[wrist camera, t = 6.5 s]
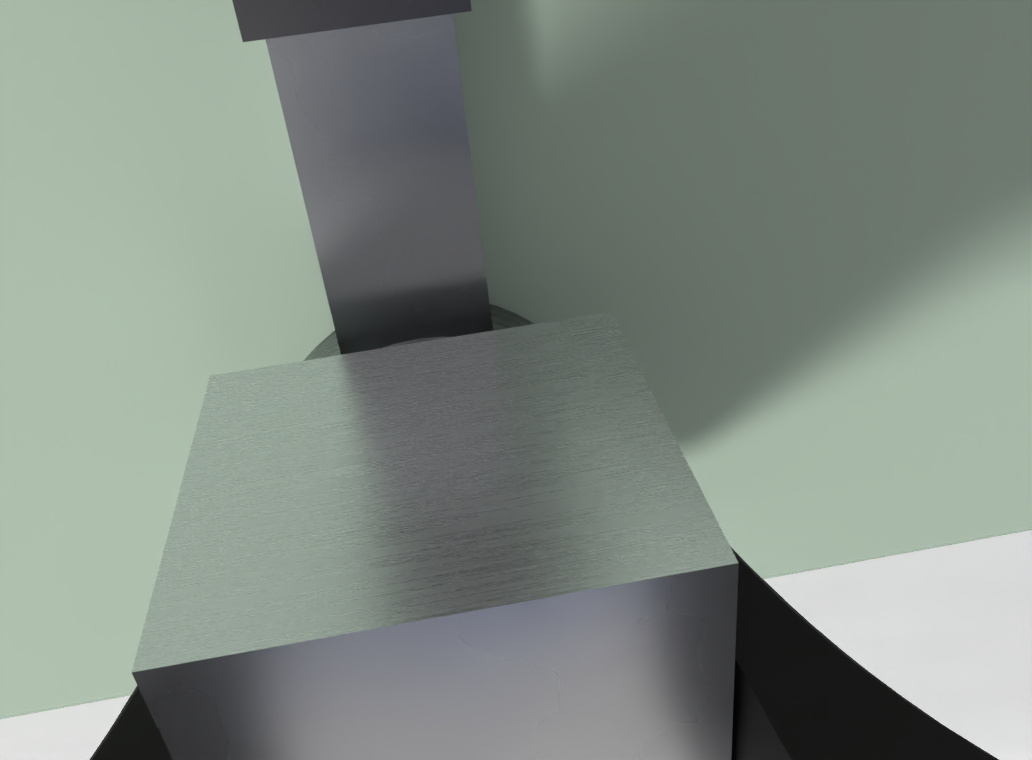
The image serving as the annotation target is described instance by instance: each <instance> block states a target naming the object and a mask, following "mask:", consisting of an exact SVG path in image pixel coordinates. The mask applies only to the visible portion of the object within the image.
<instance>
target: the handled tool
mask: <svg viewBox="0 0 1032 760" xmlns="http://www.w3.org/2000/svg"><path fill="white" fill-rule="evenodd" d="M232 2H233V5H234V9H235V13H236V17H237V21H238V25H239V29H240V33H241V37H242V41H243V42H249V41H256V40H264V39H265V40H266V44H267V48H268V53H269V57H270V61H271V65H272V69H273V73H274V78H275V82H276V86H277V90H278V94H279V98H280V103H281V107H282V111H283V115H284V119H285V123H286V128H287V132H288V136H289V140H290V144H291V148H292V153H293V157H294V161H295V165H296V169H297V174H298V178H299V182H300V186H301V190H302V194H303V199H304V203H305V207H306V211H307V215H308V219H309V224H310V228H311V232H312V236H313V240H314V244H315V249H316V253H317V257H318V261H319V265H320V269H321V274H322V278H323V282H324V286H325V290H326V294H327V299H328V303H329V307H330V311H331V315H332V319H333V324H334V328H335V331H334V332H333V333H331V334H330V335H329V336H328V337H327V338H325V339H324V340H323V341H322V342H321V343H320V344H318V345H317V346H316V347H315V348H314V350H313V351H312V352H311V353H310V354H309V355H308V356H307V357H306V358H305V360H312V359H318V358H324V357H330V356H337V355H343V354H349V353H355V352H362V351H368V350H374V349H381V348H387V347H393V346H399V345H406V344H412V343H418V342H425V341H431V340H437V339H443V338H450V337H456V336H462V335H468V334H475V333H481V332H487V331H494V330H500V329H506V328H512V327H519V326H525V325H531V324H534V323H532V322H531V321H529V320H527V319H525V318H523V317H522V316H520V315H518V314H516V313H514V312H511V311H509V310H506V309H504V308H501V307H499V306H495V305H491V304H490V303H489V295H488V287H487V280H486V272H485V264H484V256H483V249H482V241H481V233H480V225H479V218H478V210H477V202H476V194H475V187H474V179H473V171H472V163H471V156H470V148H469V140H468V132H467V125H466V117H465V109H464V101H463V94H462V86H461V78H460V70H459V63H458V55H457V47H456V39H455V32H454V24H453V16H452V14H455V13H462V12H469V11H472V9H471V1H470V0H232ZM305 360H304V361H305Z"/></svg>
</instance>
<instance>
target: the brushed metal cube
mask: <svg viewBox="0 0 1032 760" xmlns="http://www.w3.org/2000/svg"><path fill="white" fill-rule="evenodd" d="M738 566H739V563H738V561H737V559H736V557H735V555H734V553H733V551H732V549H731V547H730V545H729V543H728V541H727V539H726V537H725V535H724V533H723V531H722V529H721V527H720V525H719V524H718V522H717V520H716V518H715V516H714V514H713V512H712V510H711V508H710V506H709V504H708V502H707V500H706V498H705V496H704V494H703V492H702V490H701V488H700V486H699V484H698V482H697V480H696V478H695V476H694V474H693V472H692V470H691V468H690V467H689V465H688V463H687V461H686V459H685V457H684V455H683V453H682V451H681V449H680V447H679V445H678V443H677V441H676V439H675V437H674V435H673V433H672V431H671V429H670V427H669V425H668V423H667V421H666V419H665V417H664V415H663V413H662V411H661V410H660V408H659V406H658V404H657V402H656V400H655V398H654V396H653V394H652V392H651V390H650V388H649V386H648V384H647V382H646V380H645V378H644V376H643V374H642V372H641V370H640V368H639V366H638V364H637V362H636V360H635V358H634V356H633V354H632V353H631V351H630V349H629V347H628V345H627V343H626V341H625V339H624V337H623V335H622V333H621V331H620V329H619V327H618V325H617V323H616V321H615V319H614V317H613V315H612V313H611V312H607V313H600V314H594V315H588V316H581V317H575V318H569V319H563V320H556V321H550V322H544V323H538V324H531V325H525V326H519V327H512V328H506V329H500V330H494V331H487V332H481V333H475V334H468V335H462V336H456V337H450V338H443V339H437V340H431V341H425V342H418V343H412V344H406V345H399V346H393V347H387V348H381V349H374V350H368V351H362V352H355V353H349V354H343V355H337V356H330V357H324V358H318V359H312V360H305V361H299V362H293V363H286V364H280V365H274V366H268V367H261V368H255V369H249V370H243V371H236V372H230V373H224V374H217V375H211V376H210V377H209V381H208V385H207V388H206V392H205V396H204V400H203V404H202V407H201V411H200V415H199V419H198V423H197V426H196V430H195V434H194V438H193V441H192V445H191V449H190V453H189V457H188V460H187V464H186V468H185V472H184V476H183V479H182V483H181V487H180V491H179V494H178V498H177V502H176V506H175V510H174V513H173V517H172V521H171V525H170V529H169V532H168V536H167V540H166V544H165V548H164V551H163V555H162V559H161V563H160V566H159V570H158V574H157V578H156V582H155V585H154V589H153V593H152V597H151V601H150V604H149V608H148V612H147V616H146V619H145V623H144V627H143V631H142V635H141V638H140V642H139V646H138V650H137V654H136V657H135V661H134V665H133V669H132V675H133V677H134V679H135V681H136V683H137V685H138V687H139V689H140V692H141V694H142V696H143V698H144V700H145V702H146V704H147V706H148V708H149V711H150V713H151V715H152V717H153V719H154V721H155V723H156V725H157V727H158V730H159V732H160V734H161V736H162V738H163V740H164V742H165V744H166V746H167V749H168V751H169V753H170V755H171V757H172V759H173V760H731V755H732V728H733V701H734V674H735V647H736V620H737V593H738Z"/></svg>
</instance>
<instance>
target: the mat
mask: <svg viewBox="0 0 1032 760" xmlns="http://www.w3.org/2000/svg"><path fill="white" fill-rule="evenodd" d="M470 1H471V9H472V11H469V12H462V13H455V14H452V16H453V24H454V32H455V39H456V47H457V55H458V63H459V70H460V78H461V86H462V94H463V101H464V109H465V117H466V125H467V132H468V140H469V148H470V156H471V163H472V171H473V179H474V187H475V194H476V202H477V210H478V218H479V225H480V233H481V241H482V249H483V256H484V264H485V272H486V280H487V287H488V295H489V303H490V304H491V305H495V306H499V307H501V308H504V309H506V310H509V311H511V312H514V313H516V314H518V315H520V316H522V317H523V318H525V319H527V320H529V321H531V322H532V323H534V324H538V323H544V322H550V321H556V320H563V319H569V318H575V317H581V316H588V315H594V314H600V313H607V312H611V313H612V315H613V317H614V319H615V321H616V323H617V325H618V327H619V329H620V331H621V333H622V335H623V337H624V339H625V341H626V343H627V345H628V347H629V349H630V351H631V353H632V354H633V356H634V358H635V360H636V362H637V364H638V366H639V368H640V370H641V372H642V374H643V376H644V378H645V380H646V382H647V384H648V386H649V388H650V390H651V392H652V394H653V396H654V398H655V400H656V402H657V404H658V406H659V408H660V410H661V411H662V413H663V415H664V417H665V419H666V421H667V423H668V425H669V427H670V429H671V431H672V433H673V435H674V437H675V439H676V441H677V443H678V445H679V447H680V449H681V451H682V453H683V455H684V457H685V459H686V461H687V463H688V465H689V467H690V468H691V470H692V472H693V474H694V476H695V478H696V480H697V482H698V484H699V486H700V488H701V490H702V492H703V494H704V496H705V498H706V500H707V502H708V504H709V506H710V508H711V510H712V512H713V514H714V516H715V518H716V520H717V522H718V524H719V525H720V527H721V529H722V531H723V533H724V535H725V537H726V539H727V541H728V543H729V545H730V546H731V547H732V548H733V549H734V551H735V552H736V553H737V554H738V555H739V556H740V557H741V558H742V559H743V560H744V561H745V562H746V563H747V564H748V565H749V566H750V567H751V568H752V569H753V570H754V571H755V572H756V573H757V574H758V575H759V576H760V577H761V578H762V579H767V578H772V577H778V576H783V575H788V574H794V573H799V572H805V571H810V570H816V569H821V568H827V567H832V566H837V565H843V564H848V563H854V562H859V561H865V560H870V559H876V558H881V557H886V556H892V555H897V554H903V553H908V552H914V551H919V550H925V549H930V548H935V547H941V546H946V545H952V544H957V543H963V542H968V541H974V540H979V539H985V538H990V537H995V536H1001V535H1006V534H1012V533H1017V532H1023V531H1028V530H1032V0H470ZM334 331H335V328H334V324H333V319H332V315H331V311H330V307H329V303H328V299H327V294H326V290H325V286H324V282H323V278H322V274H321V269H320V265H319V261H318V257H317V253H316V249H315V244H314V240H313V236H312V232H311V228H310V224H309V219H308V215H307V211H306V207H305V203H304V199H303V194H302V190H301V186H300V182H299V178H298V174H297V169H296V165H295V161H294V157H293V153H292V148H291V144H290V140H289V136H288V132H287V128H286V123H285V119H284V115H283V111H282V107H281V103H280V98H279V94H278V90H277V86H276V82H275V78H274V73H273V69H272V65H271V61H270V57H269V53H268V48H267V44H266V40H265V39H264V40H256V41H249V42H243V41H242V37H241V33H240V29H239V25H238V21H237V17H236V13H235V9H234V5H233V2H232V0H0V719H4V718H9V717H15V716H20V715H26V714H31V713H37V712H42V711H47V710H53V709H58V708H64V707H69V706H75V705H80V704H86V703H91V702H97V701H102V700H107V699H113V698H118V697H124V696H129V695H132V693H133V691H134V690H135V688H136V686H137V683H136V681H135V679H134V677H133V675H132V669H133V665H134V661H135V657H136V654H137V650H138V646H139V642H140V638H141V635H142V631H143V627H144V623H145V619H146V616H147V612H148V608H149V604H150V601H151V597H152V593H153V589H154V585H155V582H156V578H157V574H158V570H159V566H160V563H161V559H162V555H163V551H164V548H165V544H166V540H167V536H168V532H169V529H170V525H171V521H172V517H173V513H174V510H175V506H176V502H177V498H178V494H179V491H180V487H181V483H182V479H183V476H184V472H185V468H186V464H187V460H188V457H189V453H190V449H191V445H192V441H193V438H194V434H195V430H196V426H197V423H198V419H199V415H200V411H201V407H202V404H203V400H204V396H205V392H206V388H207V385H208V381H209V377H210V376H211V375H217V374H224V373H230V372H236V371H243V370H249V369H255V368H261V367H268V366H274V365H280V364H286V363H293V362H299V361H304V360H305V358H306V357H307V356H308V355H309V354H310V353H311V352H312V351H313V350H314V348H315V347H316V346H317V345H318V344H320V343H321V342H322V341H323V340H324V339H325V338H327V337H328V336H329V335H330V334H331V333H333V332H334Z"/></svg>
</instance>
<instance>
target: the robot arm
mask: <svg viewBox="0 0 1032 760" xmlns="http://www.w3.org/2000/svg"><path fill="white" fill-rule="evenodd" d="M730 547H731V546H730ZM731 549H732V551H733V553H734V555H735V557H736V559H737V561H738V563H739V566H738V593H737V620H736V647H735V674H734V701H733V728H732V755H731V760H998V759H997V758H995V757H994V756H992V755H990V754H989V753H987V752H985V751H984V750H982V749H981V748H979V747H977V746H976V745H974V744H973V743H971V742H969V741H968V740H966V739H964V738H963V737H961V736H960V735H958V734H956V733H955V732H953V731H952V730H950V729H948V728H947V727H945V726H944V725H942V724H941V723H939V722H938V721H936V720H935V719H933V718H932V717H931V716H929V715H928V714H926V713H925V712H923V711H922V710H921V709H919V708H918V707H916V706H915V705H913V704H912V703H910V702H909V701H908V700H906V699H905V698H903V697H902V696H901V695H899V694H898V693H896V692H895V691H894V690H892V689H891V688H890V687H888V686H887V685H886V684H884V683H883V682H882V681H880V680H879V679H878V678H876V677H875V676H874V675H872V674H871V673H870V672H868V671H867V670H866V669H865V668H863V667H862V666H861V665H859V664H858V663H857V662H856V661H854V660H853V659H852V658H851V657H850V656H848V655H847V654H846V653H845V652H843V651H842V650H841V649H840V648H838V647H837V646H836V645H835V644H834V643H833V642H831V641H830V640H829V639H828V638H827V637H826V636H824V635H823V634H822V633H821V632H820V631H819V630H817V629H816V628H815V627H814V626H813V625H812V624H810V623H809V622H808V621H807V620H806V619H805V618H804V617H803V616H801V615H800V614H799V613H798V612H797V611H796V610H795V609H794V608H793V607H792V606H790V605H789V604H788V603H787V602H786V601H785V600H784V599H783V598H782V597H781V596H780V595H779V594H778V593H777V592H776V591H775V590H774V589H773V588H772V587H771V586H769V585H768V584H767V583H766V582H765V581H764V580H763V579H762V578H761V577H760V576H759V575H758V574H757V573H756V572H755V571H754V570H753V569H752V568H751V567H750V566H749V565H748V564H747V563H746V562H745V561H744V560H743V559H742V558H741V557H740V556H739V555H738V554H737V553H736V552H735V551H734V549H733V548H732V547H731ZM90 760H173V759H172V757H171V755H170V753H169V751H168V749H167V746H166V744H165V742H164V740H163V738H162V736H161V734H160V732H159V730H158V727H157V725H156V723H155V721H154V719H153V717H152V715H151V713H150V711H149V708H148V706H147V704H146V702H145V700H144V698H143V696H142V694H141V692H140V689H139V687H138V685H137V686H136V688H135V690H134V691H133V693H132V695H131V696H130V698H129V700H128V701H127V703H126V705H125V706H124V708H123V709H122V711H121V713H120V714H119V716H118V718H117V719H116V721H115V722H114V724H113V726H112V727H111V729H110V730H109V732H108V733H107V735H106V736H105V738H104V739H103V741H102V742H101V744H100V745H99V747H98V748H97V750H96V751H95V753H94V754H93V756H92V757H91V759H90Z"/></svg>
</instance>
